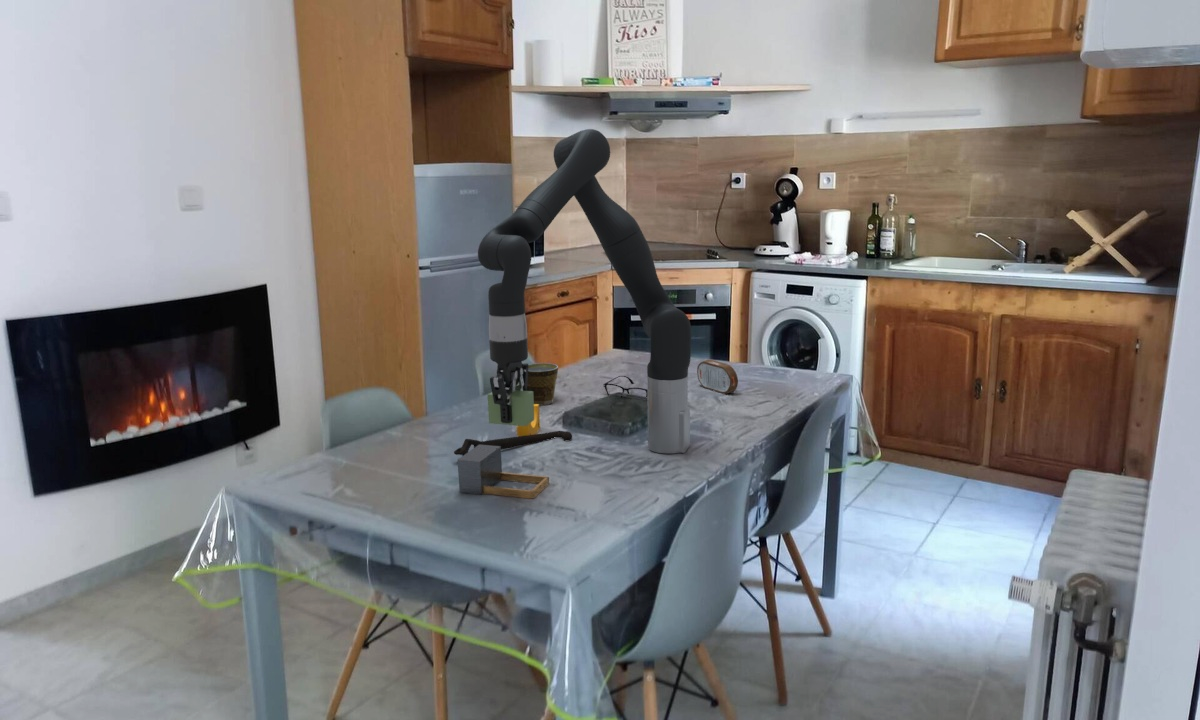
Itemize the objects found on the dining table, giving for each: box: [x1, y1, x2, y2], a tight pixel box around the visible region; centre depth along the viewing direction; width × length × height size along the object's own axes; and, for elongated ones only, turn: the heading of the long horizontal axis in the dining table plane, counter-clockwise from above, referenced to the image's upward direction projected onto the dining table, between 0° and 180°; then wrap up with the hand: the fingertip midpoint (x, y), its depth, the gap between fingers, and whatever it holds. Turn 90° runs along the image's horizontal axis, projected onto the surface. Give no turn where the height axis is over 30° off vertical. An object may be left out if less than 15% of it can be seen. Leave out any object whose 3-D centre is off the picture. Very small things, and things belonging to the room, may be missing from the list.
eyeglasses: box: [602, 375, 647, 398], centre depth 253 cm, size 16×16×4 cm
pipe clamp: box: [516, 404, 541, 437], centre depth 216 cm, size 12×4×6 cm, turn 172°
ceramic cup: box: [527, 362, 559, 406], centre depth 244 cm, size 13×10×10 cm
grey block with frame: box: [457, 444, 550, 500], centre depth 182 cm, size 16×10×7 cm, turn 72°
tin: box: [696, 358, 739, 395], centre depth 252 cm, size 15×3×8 cm, turn 34°
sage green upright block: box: [487, 390, 534, 427], centre depth 178 cm, size 8×4×6 cm, turn 71°
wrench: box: [453, 430, 573, 457], centre depth 205 cm, size 5×5×30 cm
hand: (511, 418), depth 178 cm, fingers closed on sage green upright block, 4 cm apart
